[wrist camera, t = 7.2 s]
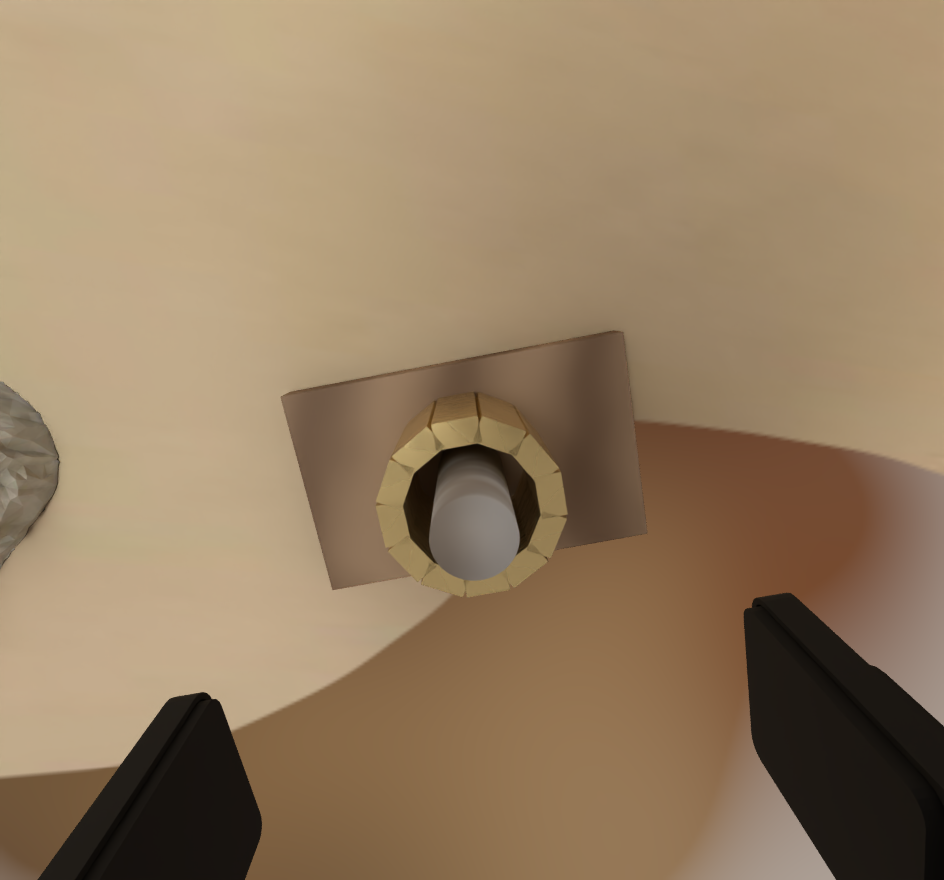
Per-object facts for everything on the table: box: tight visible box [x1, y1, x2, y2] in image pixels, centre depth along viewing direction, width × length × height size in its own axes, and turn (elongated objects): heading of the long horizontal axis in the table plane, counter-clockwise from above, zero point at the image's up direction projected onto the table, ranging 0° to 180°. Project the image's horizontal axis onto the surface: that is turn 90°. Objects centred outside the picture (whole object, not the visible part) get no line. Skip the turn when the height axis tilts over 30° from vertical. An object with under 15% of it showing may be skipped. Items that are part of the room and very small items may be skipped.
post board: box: [281, 331, 647, 590], centre depth 23 cm, size 16×10×10 cm, turn 101°
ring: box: [376, 392, 568, 597], centre depth 24 cm, size 7×7×6 cm
